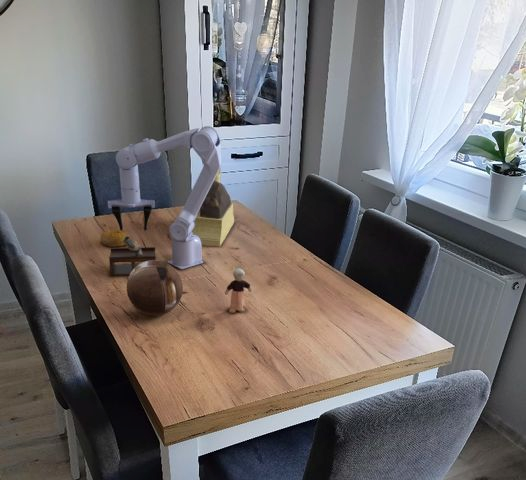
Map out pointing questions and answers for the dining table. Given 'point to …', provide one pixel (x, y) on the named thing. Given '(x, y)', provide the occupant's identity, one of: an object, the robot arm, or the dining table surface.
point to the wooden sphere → (154, 287)
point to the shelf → (128, 259)
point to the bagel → (113, 238)
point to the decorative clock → (214, 215)
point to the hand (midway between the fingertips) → (133, 229)
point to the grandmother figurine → (237, 291)
